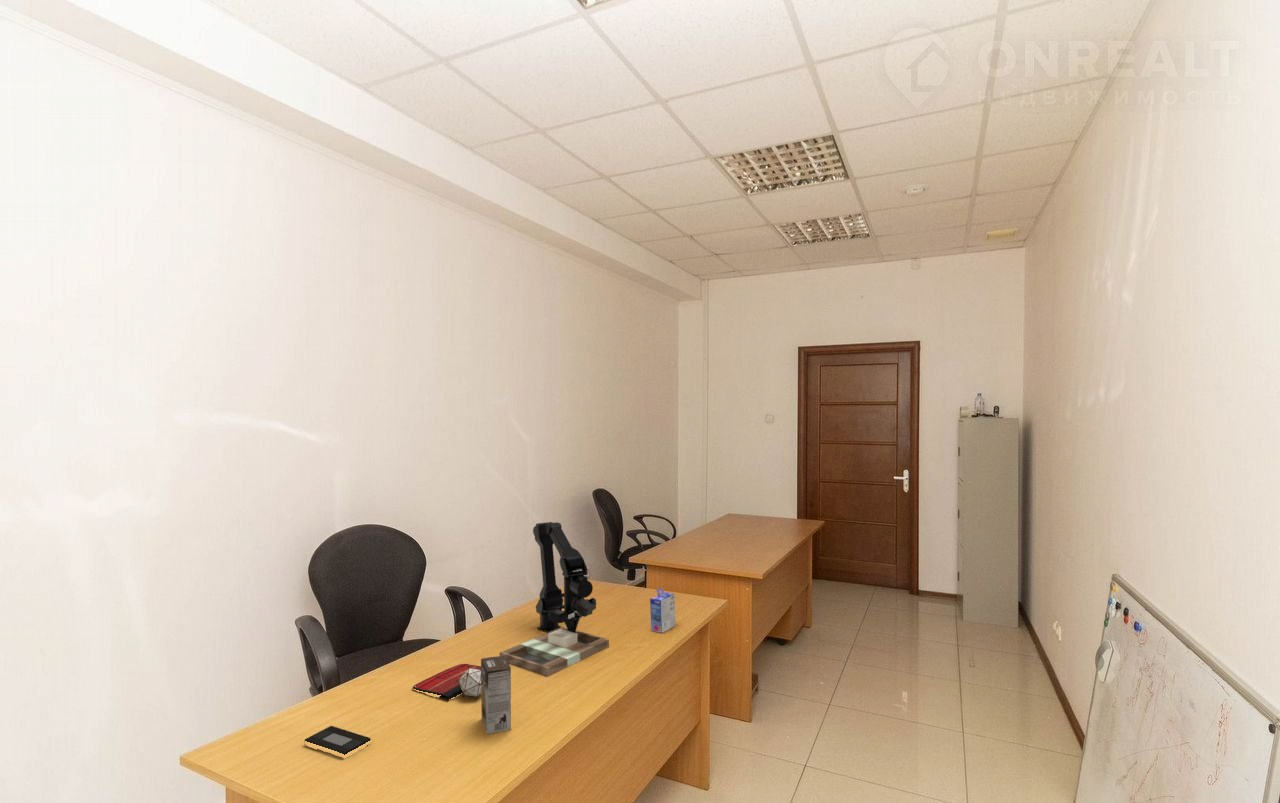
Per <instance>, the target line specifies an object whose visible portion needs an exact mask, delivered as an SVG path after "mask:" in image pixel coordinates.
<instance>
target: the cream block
mask: <svg viewBox="0 0 1280 803" xmlns="http://www.w3.org/2000/svg"><path fill="white" fill-rule="evenodd" d="M548 633H549V632H548ZM577 642H578V641H577V633H573V632H570V631H566V630H562V629H559V630H557V631H554V632H552V633H549V634H548V643H551V644H554V645H558V646H561V647H564V648H566V647H568V646H571V645H573V644H575V643H577Z"/></svg>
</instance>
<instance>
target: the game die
mask: <svg viewBox="0 0 1280 803" xmlns="http://www.w3.org/2000/svg"><path fill="white" fill-rule="evenodd" d="M456 682H459V684H460V687H461V689H462V692H463V694H462V695H461V697H462V696H464V697H465V696H469V697H473V698H474V697H475V698H476V700H477V699H478V700H479V695H480V694H481V670H479V669H472V668H470V667H469V666H468V670H467V671H466V672H465V673H464V675H463V676H462V677H461V678H460V679H459V680H456Z"/></svg>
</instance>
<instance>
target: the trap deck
mask: <svg viewBox="0 0 1280 803" xmlns="http://www.w3.org/2000/svg"><path fill="white" fill-rule="evenodd" d="M559 629H562V630H566V631H568V629H567V627H565V626H561V627H560V628H558V629H556V630H553V631H551V632H546V633H543V634H542V635H538V636H537V637H534V638H532V639H529V640H527V641H524V642H522V643H520V644H517V645H515V646H511V647H508V648H507V649H504V650H502V651H500V652H499V656H505V658H506V660H507V662H508V663H509V665H513V666H517V667H519V668H522V669H525V670H527V671H530V672H533V673H535V674H539V675H542V676H545V677H550V676H551V675H554V674H556V673H557V672H560V671H562V670H563V669H566V668H568V667H570V666H572V665H574V664H577V663H578V662H580V661H582V660H585V659H586V658H589V657H591V656H592V655H595V654H598V653H599V652H601V651H603V650H605V649H607V648H610V639H608V638H605V637H601V636H599V635H595V634H591V633H587V632H584V631H580V630H577V629H576V632H575V633H577V641H578V642H577V643H575V644H573V645H571V646H568V647H566V648H564V647H561V646H558V645H554V644H551V643H548V634H549V633H552V632H554V631H557V630H559Z"/></svg>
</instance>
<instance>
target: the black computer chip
mask: <svg viewBox="0 0 1280 803" xmlns="http://www.w3.org/2000/svg"><path fill="white" fill-rule="evenodd" d="M370 740H371V741H372V738H371V737H368V736H364V735H362V734H358V733H355V732H352V731H349V730H346V729H343V728H340V727H337V726H333V725H330V726H328V727H326V728H324V729H322V730H320V731H318V732H316V733H315V734H312V735H310V736H309V737H306V738H305V739H304V742H305V741H307V742H310V743H313V744H316V745H319V746H322V747H325V748H328V749H331V750H334V751H337V752H339V753H342V754H344V755H345V754H347V753H348V752H350V751H352V750H354V749H356V748H358V747H359V746H361V745H363V744H365V743H366V742H368V741H370Z"/></svg>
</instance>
